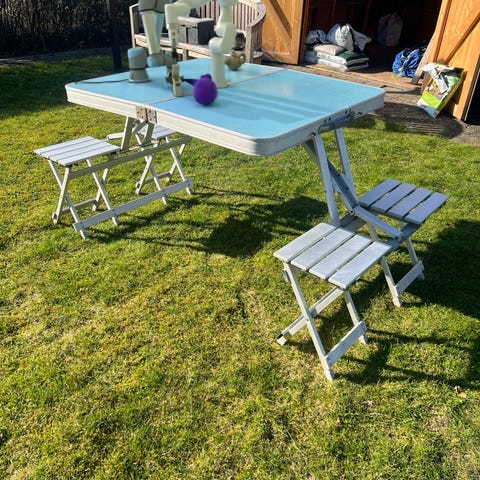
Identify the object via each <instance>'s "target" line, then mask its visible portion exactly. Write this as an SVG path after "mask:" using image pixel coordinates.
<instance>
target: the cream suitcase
mask: <svg viewBox="0 0 480 480" xmlns="http://www.w3.org/2000/svg"><path fill="white" fill-rule="evenodd" d="M172 80H173V85H172V91H173V93H174V96H175V97H183V95H184V94H183V82H181V80H180V78H179V77H172Z"/></svg>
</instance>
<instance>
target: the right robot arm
mask: <svg viewBox="0 0 480 480" xmlns="http://www.w3.org/2000/svg"><path fill="white" fill-rule="evenodd" d="M212 1H213V0H176V1H175V2H172V4H166V5H165V14H164V18H165V28H166V30H167V31H168V39H169V45H170V46H171V51H172V58H177V59H178V49H177V47H179V46H180V44H179V33H178V29H179V17H181V18H186V17H188V16H190V14H191V10H192V9H199V8H201V7H204V6H205V5H208V4H209V3H210V2H212ZM217 3H218V5H219V8H220V15H219V18H218V21H217V23H216V26H215V34H216V35H217V37H212V38H211V39H210V40H209V42H208V52H209V57H210V75H211V76H212V81H214V82H215V84H216V86H217V89H223V88H227V87H228V83H231V82H232V80H231V79H226V67H225V66H226V65H225V61H224V58H225V56H224V55H228V54H229V53H230V52H232V49H233V46H234V42H235V40H236V37H237V32H238V29H237V25H236V24H235V23H234V22H233V17H234V11H233V7H235V6H237V5H238V4H239V0H217Z"/></svg>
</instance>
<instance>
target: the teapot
mask: <svg viewBox="0 0 480 480" xmlns="http://www.w3.org/2000/svg"><path fill="white" fill-rule="evenodd" d="M241 58H242V59H241ZM224 61H225V66H227V69H228V70H230V71H238V70H239V69H240V68H241V67H242V65H244V64H245V63H246V61H247V56H246V53H245V52H243V51H242V52H239V54H237V53H236V52H235V50H231V54H230V56H226V57H224Z"/></svg>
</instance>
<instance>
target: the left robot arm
mask: <svg viewBox="0 0 480 480" xmlns="http://www.w3.org/2000/svg"><path fill="white" fill-rule="evenodd" d="M137 4H138V6H137V7H138V13H139V14H140V15H141V20H142V25H143V30H144V34H145V39H146V40H145V41H146V43H145V46H144V47H143V46H134V47H131V48H129V49H127V57H128V66H129V76H128V78H125V79H119V80H106V81H105V80H104V81H81V80H78V81H75V82H74V83H75V84H74V85H76V84H79V83H82V84H103V83H120V82H125V81H126V82H127V81H128V82H129V83H133V84H141V83H148V82H150V76H149V73H148V71H147V67H146V66H148V67H149V68H150V69H154V68H161V67H166V76H164V81H165V82H166V84H169V85H172V86H173V80H172V65H174V61H173V58H172V50H165V52H164V49H162V46H161V41H162V40H161V38H162V33H163V27H164V19H165V5H166V4H173V0H138V3H137ZM174 60H175V65H177V64H176V58H174ZM179 78H180V80H181V82H182V83H185V81H183V80H182V79H185V76H184V75H179Z"/></svg>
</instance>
